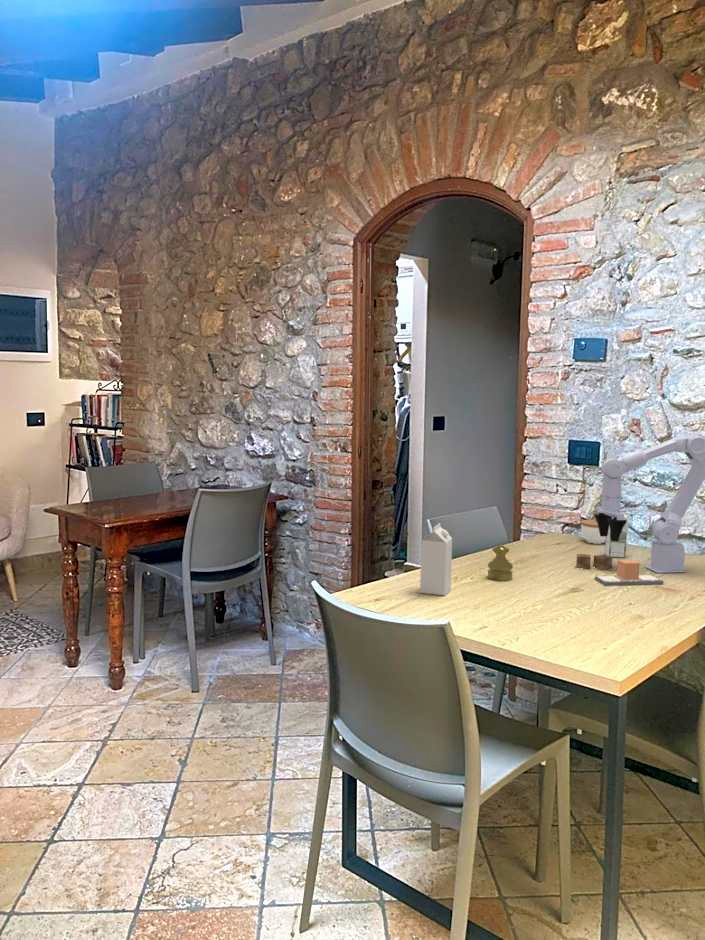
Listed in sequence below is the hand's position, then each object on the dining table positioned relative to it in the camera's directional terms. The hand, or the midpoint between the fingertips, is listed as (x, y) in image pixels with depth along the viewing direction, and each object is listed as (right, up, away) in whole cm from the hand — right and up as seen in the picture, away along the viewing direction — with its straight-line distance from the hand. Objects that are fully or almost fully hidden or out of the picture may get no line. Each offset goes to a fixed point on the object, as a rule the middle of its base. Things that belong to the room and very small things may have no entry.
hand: (609, 538), depth 245 cm
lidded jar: (+8, -5, +39) cm, 41 cm away
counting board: (0, -11, -17) cm, 20 cm away
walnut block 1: (-8, -9, +1) cm, 12 cm away
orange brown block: (0, -10, -16) cm, 19 cm away
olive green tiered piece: (-37, -11, -14) cm, 41 cm away
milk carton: (-59, -13, -29) cm, 67 cm away
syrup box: (+8, -8, +17) cm, 21 cm away
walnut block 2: (-2, -10, 0) cm, 10 cm away
